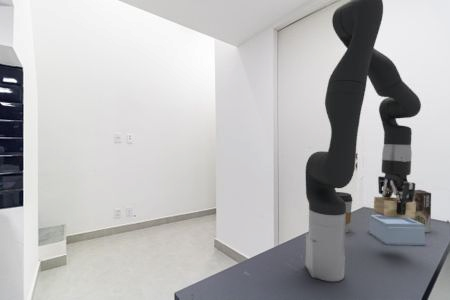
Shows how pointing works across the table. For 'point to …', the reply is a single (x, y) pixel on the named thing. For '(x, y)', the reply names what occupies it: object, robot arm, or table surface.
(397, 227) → the base crate
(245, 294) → the table surface
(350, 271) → the table surface
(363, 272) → the table surface
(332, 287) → the table surface
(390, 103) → the robot arm
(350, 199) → the coffee cup
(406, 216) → the small crate
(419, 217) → the coffee box
